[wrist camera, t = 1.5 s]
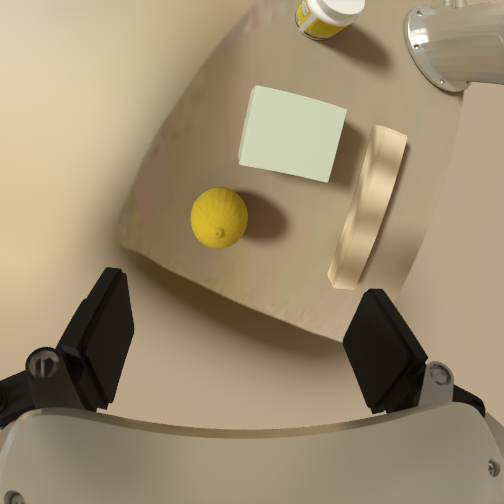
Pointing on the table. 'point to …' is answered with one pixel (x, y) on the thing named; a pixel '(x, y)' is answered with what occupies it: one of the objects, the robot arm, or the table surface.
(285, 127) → the block
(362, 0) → the supplement bottle
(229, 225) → the lemon
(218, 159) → the table surface
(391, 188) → the beige wavy bar
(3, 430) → the robot arm
